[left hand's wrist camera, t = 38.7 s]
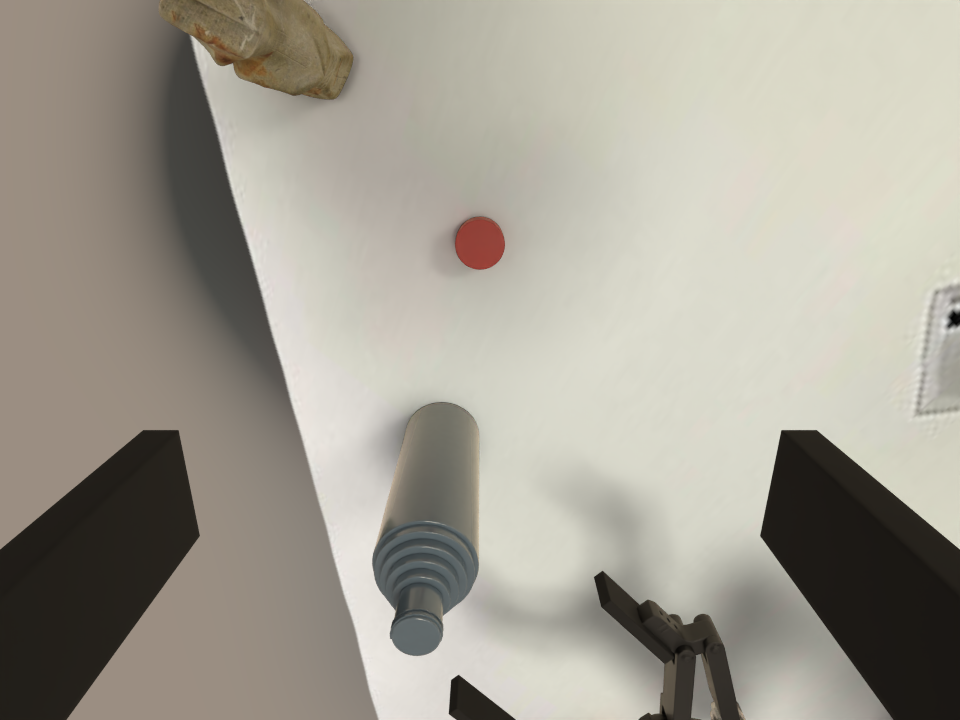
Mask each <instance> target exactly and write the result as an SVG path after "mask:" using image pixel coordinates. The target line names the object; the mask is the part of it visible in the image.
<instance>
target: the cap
mask: <svg viewBox="0 0 960 720" xmlns="http://www.w3.org/2000/svg"><path fill="white" fill-rule="evenodd" d="M455 248H456V252H457V255H458V257H459V258H460V260H461V261H462V262H463V263H464V264H465V265H467V266H468V267H470V268H473V269H487V268H490V267H492V266H493V265H495V264H496V263H497V262H498V261H499V260H500V258H501V257H502V255H503V252H504V248H505V241H504V237H503V233H502V231H501V229H500V227H499V226H498V225H497V224H496V223H495V222H494V221H493V220H491V219H489V218H486V217H474V218H471V219H469V220H467V221H466V222H465V223H463V225H462V226H461V227H460V229H459V231H458V233H457V237H456V241H455Z"/></svg>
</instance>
